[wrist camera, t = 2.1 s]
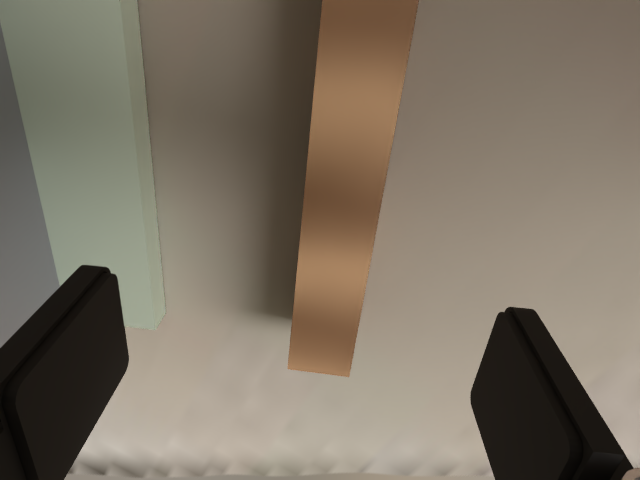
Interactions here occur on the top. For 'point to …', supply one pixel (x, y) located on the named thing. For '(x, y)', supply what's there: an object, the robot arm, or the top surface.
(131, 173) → the stand
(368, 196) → the walnut bar
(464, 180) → the top surface
